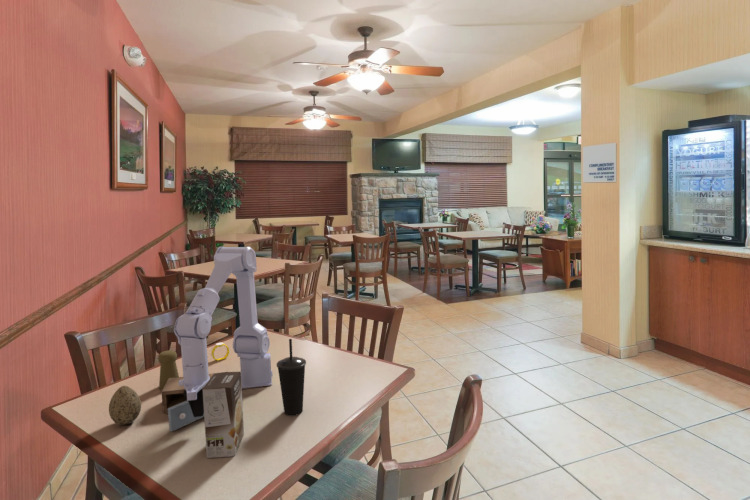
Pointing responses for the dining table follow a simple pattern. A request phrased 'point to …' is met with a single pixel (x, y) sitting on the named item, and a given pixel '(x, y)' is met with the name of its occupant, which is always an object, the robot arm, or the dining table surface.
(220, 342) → the watch
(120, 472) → the dining table surface
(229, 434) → the coffee box
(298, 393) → the drinking cup
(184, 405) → the cabinet door
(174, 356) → the cork
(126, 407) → the decorative egg
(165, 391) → the cabinet
